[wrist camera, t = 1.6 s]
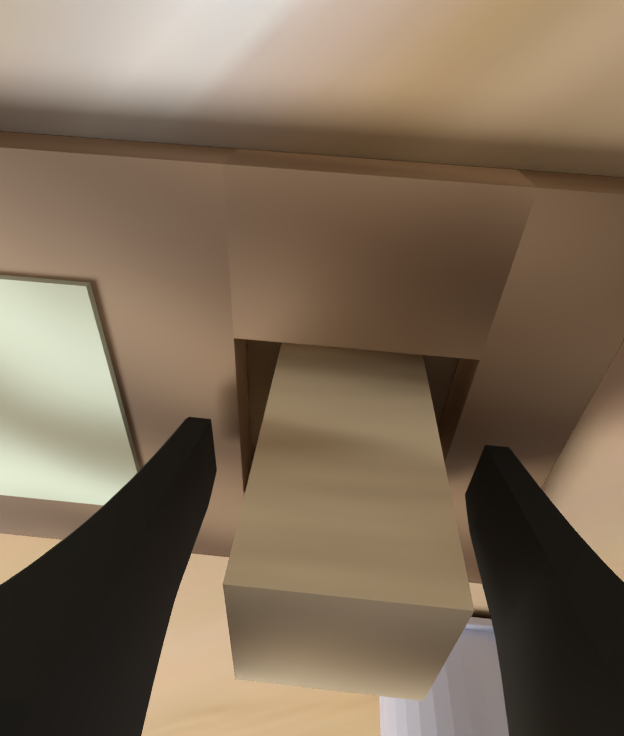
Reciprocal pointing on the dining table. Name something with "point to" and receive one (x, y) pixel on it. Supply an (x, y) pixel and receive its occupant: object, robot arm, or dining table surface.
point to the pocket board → (281, 305)
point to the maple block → (347, 531)
